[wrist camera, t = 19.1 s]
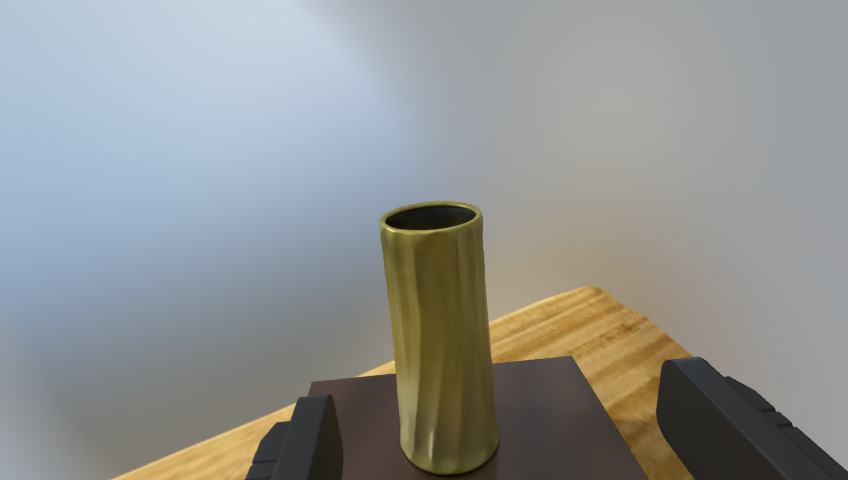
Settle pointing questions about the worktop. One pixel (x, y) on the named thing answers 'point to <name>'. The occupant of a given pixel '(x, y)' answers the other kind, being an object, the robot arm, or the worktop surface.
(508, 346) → the worktop surface
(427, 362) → the vase
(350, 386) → the shelf
